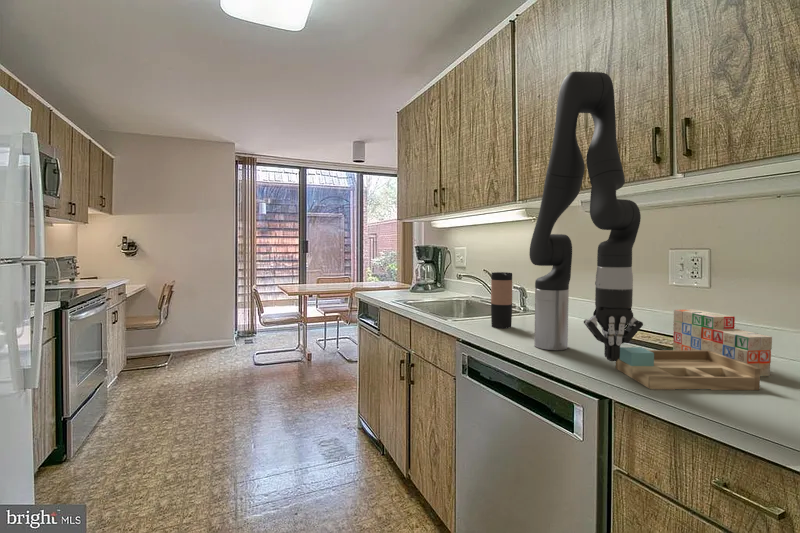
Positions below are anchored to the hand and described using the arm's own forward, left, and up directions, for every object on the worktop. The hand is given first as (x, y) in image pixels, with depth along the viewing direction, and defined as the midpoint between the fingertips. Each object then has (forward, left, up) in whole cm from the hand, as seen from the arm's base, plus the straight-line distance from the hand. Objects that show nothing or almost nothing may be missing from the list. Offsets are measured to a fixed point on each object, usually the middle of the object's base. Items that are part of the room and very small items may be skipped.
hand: (612, 360), depth 91 cm
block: (-1, +6, -1) cm, 6 cm away
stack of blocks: (-9, +31, -4) cm, 32 cm away
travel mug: (-54, -14, -3) cm, 55 cm away
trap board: (+3, +14, -3) cm, 15 cm away
